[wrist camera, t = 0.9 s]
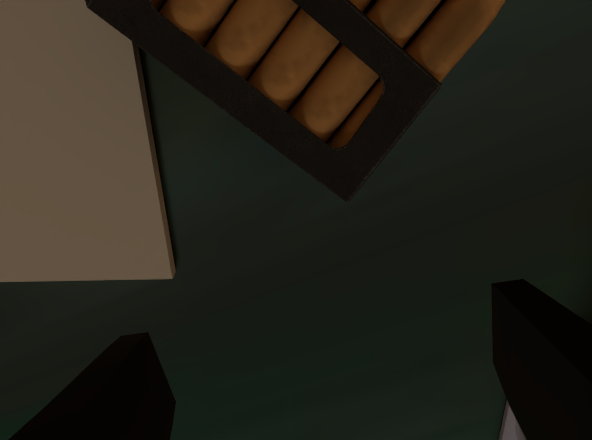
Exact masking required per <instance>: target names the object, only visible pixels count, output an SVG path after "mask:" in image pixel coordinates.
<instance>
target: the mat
mask: <svg viewBox="0 0 592 440" xmlns="http://www.w3.org/2000/svg"><path fill="white" fill-rule="evenodd" d="M175 272H176V270H175V264H174V258H173V252H172V246H171V240H170V234H169V228H168V222H167V216H166V210H165V204H164V198H163V192H162V186H161V180H160V174H159V168H158V162H157V156H156V150H155V144H154V138H153V132H152V126H151V120H150V114H149V108H148V102H147V96H146V90H145V84H144V78H143V72H142V66H141V60H140V54H139V48H138V46H137V45H136V44H135V43H133V42H132V41H131V40H129V39H128V38H127V37H125V36H124V35H123V34H121V33H120V32H119V31H117V30H116V29H115V28H113V27H112V26H111V25H109V24H108V23H107V22H106V21H104V20H103V19H102V18H100V17H99V16H98V15H96V14H95V13H94V12H92V11H91V10H90V9H88V8H87V6H86V2H85V0H0V282H25V281H80V280H135V279H172V278H173V276H174V274H175Z"/></svg>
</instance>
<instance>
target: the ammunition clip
mask: <svg viewBox="0 0 592 440" xmlns="http://www.w3.org/2000/svg"><path fill="white" fill-rule="evenodd" d="M164 1H165V0H85V2H86V6H87V8H88V9H90V10H91V11H92V12H94V13H95V14H96V15H98V16H99V17H100V18H102V19H103V20H104V21H106V22H107V23H108V24H109V25H111V26H112V27H113V28H115V29H116V30H117V31H119V32H120V33H121V34H123V35H124V36H125V37H127V38H128V39H129V40H131V41H132V42H133V43H135V44H136V45H137V46H139V47H140V48H141V49H143V50H144V51H145V52H147V53H148V54H149V55H151V56H152V57H153V58H155V59H156V60H157V61H159V62H160V63H161V64H163V65H164V66H165V67H167V68H168V69H169V70H171V71H172V72H173V73H175V74H176V75H177V76H179V77H180V78H181V79H183V80H184V81H185V82H187V83H188V84H189V85H191V86H192V87H193V88H195V89H196V90H197V91H199V92H200V93H201V94H203V95H204V96H205V97H207V98H208V99H209V100H211V101H212V102H213V103H215V104H216V105H217V106H219V107H220V108H221V109H223V110H224V111H225V112H227V113H228V114H229V115H231V116H232V117H233V118H235V119H236V120H237V121H239V122H240V123H241V124H243V125H244V126H245V127H247V128H248V129H249V130H251V131H252V132H253V133H255V134H256V135H257V136H259V137H260V138H261V139H263V140H264V141H265V142H267V143H268V144H269V145H271V146H272V147H273V148H275V149H276V150H277V151H279V152H280V153H281V154H283V155H284V156H285V157H287V158H288V159H289V160H291V161H292V162H293V163H295V164H296V165H297V166H299V167H300V168H301V169H303V170H304V171H305V172H307V173H308V174H309V175H311V176H312V177H313V178H315V179H316V180H317V181H319V182H320V183H321V184H323V185H324V186H325V187H327V188H328V189H329V190H331V191H332V192H333V193H335V194H336V195H337V196H339V197H340V198H341V199H343V200H344V201H345V202H348V201H350V200H351V199H352V198H353V196H354V195H355V194H356V193H357V191H358V190H359V189H360V188H361V186H362V185H363V184H364V183H365V181H366V180H367V179H368V178H369V176H370V175H371V174H372V173H373V171H374V170H375V169H376V168H377V166H378V165H379V164H380V163H381V161H382V160H383V159H384V158H385V156H386V155H387V154H388V153H389V151H390V150H391V149H392V148H393V146H394V145H395V144H396V142H397V141H398V140H399V139H400V137H401V136H402V135H403V134H404V132H405V131H406V130H407V129H408V127H409V126H410V125H411V124H412V122H413V121H414V120H415V119H416V117H417V116H418V115H419V114H420V112H421V111H422V110H423V109H424V107H425V106H426V105H427V104H428V102H429V101H430V100H431V99H432V97H433V96H434V95H435V94H436V92H437V91H438V90H439V89H440V87H441V86H442V84H441V81H442V80H443V79H444V78H445V76H446V75H447V74H448V73H449V72H450V71H451V69H452V68H453V67H454V66H455V65H456V64H457V62H458V61H459V60H460V59H461V58H462V57H463V55H464V54H465V53H466V52H467V51H468V50H469V49H470V47H471V46H472V45H473V44H474V43H475V42H476V40H477V39H478V38H479V37H480V36H481V35H482V33H483V32H484V31H485V30H486V29H487V28H488V26H489V25H490V24H491V23H492V21H493V20H494V18H495V17H496V15H497V14H498V12H499V10H500V9H501V7H502V5H503V4H504V2H505V0H446V1H445V2H444V3H443V4H442V6H441V7H440V8H439V9H438V10H437V12H436V13H435V14H434V15H433V16H432V18H431V19H430V20H429V21H428V22H427V24H426V25H425V26H424V27H423V28H422V30H421V31H420V32H419V33H418V34H417V36H416V37H415V38H414V39H413V40H412V42H411V43H410V44H409V45H408V46H407V48H406V49H405V50H404V49H403V47H404V46H405V44H406V43H407V42H408V41H409V39H410V38H411V37H412V36H413V35H414V33H415V32H416V31H417V30H418V28H419V27H420V26H421V25H422V23H423V22H424V21H425V20H426V19H427V17H428V16H429V15H430V14H431V12H432V11H433V10H434V9H435V7H436V6H437V5H438V4H439V3H440V1H441V0H377V1H376V2H375V3H374V5H373V6H372V7H371V8H370V10H369V11H368V12H367V14H366V15H365V14H364V13H363V11H364V9H365V8H366V7H367V5H368V4H369V3H370V2H371V0H237V1H236V2H235V4H234V5H233V7H232V8H231V10H230V11H229V13H228V14H227V15H226V17H225V18H224V20H223V21H222V23H221V24H220V26H219V27H218V28H217V30H216V31H215V33H214V34H213V36H212V37H211V39H210V40H209V41H207V40H208V39H209V37H210V36H211V34H212V33H213V31H214V30H215V28H216V27H217V25H218V24H219V22H220V21H221V19H222V18H223V16H224V15H225V13H226V12H227V10H228V9H229V8H230V6H231V5H232V3H233V2H234V0H167V1H166V2H165V4H164V3H163V2H164ZM297 8H299V9H300V10H299V11H298V12H297V14H296V15H295V16H294V18H293V19H292V21H291V22H290V23H289V25H288V26H287V27H286V29H285V30H284V31H283V33H282V34H281V35H280V37H279V38H278V39H277V41H276V42H275V44H274V45H273V46H272V48H271V49H270V50H269V52H268V53H267V54H266V56H265V57H264V58H263V60H262V61H261V63H260V64H259V65H258V67H257V68H256V69H255V71H254V72H253V73H252V75H250V74H251V72H252V71H253V69H254V68H255V67H256V65H257V64H258V62H259V61H260V60H261V58H262V57H263V56H264V54H265V53H266V51H267V50H268V49H269V47H270V46H271V44H272V43H273V42H274V40H275V39H276V37H277V36H278V35H279V33H280V32H281V31H282V29H283V28H284V26H285V25H286V24H287V22H288V21H289V19H290V18H291V17H292V15H293V14H294V12H295V11H296V10H297ZM338 43H340V44H341V47H340V48H339V49H338V50H337V52H336V53H335V54H334V56H333V57H332V58H331V59H330V61H329V62H328V63H327V64H326V66H325V67H324V68H323V69H322V71H321V72H320V73H319V75H318V76H317V77H316V78H315V80H314V81H313V82H312V83H311V85H310V86H309V87H308V89H307V90H306V91H305V92H304V94H303V95H302V96H301V97H300V99H299V100H298V101H297V103H296V104H295V105H294V106H293V108H291V107H290V106H291V105H292V103H293V102H294V101H295V99H296V98H297V97H298V96H299V94H300V93H301V92H302V90H303V89H304V88H305V86H306V85H307V84H308V83H309V81H310V80H311V79H312V77H313V76H314V75H315V73H316V72H317V71H318V69H319V68H320V67H321V66H322V64H323V63H324V62H325V60H326V59H327V58H328V56H329V55H330V54H331V52H332V51H333V50H334V49H335V47H336V46H337V45H338ZM372 85H373V86H372ZM371 86H372V88H371V90H370V91H369V93H368V94H367V96H366V97H365V98H364V99H363V100H362V102H361V103H360V104H359V105H358V106H357V108H356V109H355V110H354V111H353V112H352V114H351V115H350V116H349V117H348V118H347V120H346V121H345V122H344V123H343V124H342V126H341V127H340V128H339V129H338V130H337V132H336V133H335V134H334V135H333V136H331V135H332V134H333V133H334V132H335V130H336V129H337V128H338V127H339V125H340V124H341V123H342V122H343V121H344V119H345V118H346V117H347V116H348V114H349V113H350V112H351V111H352V110H353V108H354V107H355V106H356V105H357V103H358V102H359V101H360V100H361V98H362V97H363V96H364V95H365V94H366V92H367V91H368V90H369V89H370V87H371Z"/></svg>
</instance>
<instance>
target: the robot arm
mask: <svg viewBox="0 0 592 440" xmlns="http://www.w3.org/2000/svg"><path fill="white" fill-rule="evenodd" d="M492 334H493V363H494V366H495V369H496V371H497V374H498V377H499V380H500V382H501V385H502V388H503V390H504V393H505V396H506V398H507V402H506V407H505V411H504V416H503V421H502V426H501V431H500V436H499V440H592V324H590V323H589V322H587V321H585V320H584V319H582V318H581V317H579V316H578V315H576V314H575V313H573V312H572V311H570V310H569V309H567V308H566V307H564V306H563V305H561V304H560V303H558V302H557V301H555V300H554V299H552V298H551V297H549V296H548V295H546V294H545V293H543V292H542V291H540V290H539V289H537V288H536V287H534V286H533V285H531V284H530V283H528V282H527V281H525V280H524V279H521V280H513V281H506V282H499V283H492ZM175 404H176V401H175V399H174V396H173V394H172V391H171V389H170V386H169V384H168V381H167V379H166V376H165V374H164V371H163V369H162V366H161V364H160V361H159V359H158V356H157V354H156V351H155V349H154V346H153V344H152V341H151V339H150V336H149V334H148V332H146V333H139V334H132V335H125V336H121V337H119V338H118V339H117V340H116V341H115V342H113V343H112V344H111V345H110V346H109V347H108V348H107V349H106V350H105V351H103V352H102V353H101V354H100V355H99V356H98V357H97V358H96V359H95V360H94V361H93V362H92V363H91V364H90V365H89V366H88V367H87V368H86V369H84V370H83V371H82V372H81V373H80V374H79V375H78V376H77V377H76V378H75V379H74V380H73V381H72V382H71V383H70V384H69V385H68V386H67V387H66V388H65V389H63V390H62V391H61V392H60V393H59V394H58V395H57V396H56V397H55V398H54V399H53V400H52V401H51V402H50V403H49V404H48V405H47V406H46V407H44V408H43V409H42V410H41V411H40V412H39V413H38V414H37V415H36V416H35V417H33V418H32V419H31V420H30V421H29V422H28V423H27V424H25V425H24V426H23V427H22V428H21V429H20V430H19V431H18V432H16V433H15V434H14V435H13V436H12V437H11V438H10V439H9V440H170V435H171V430H172V424H173V417H174V411H175Z"/></svg>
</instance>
